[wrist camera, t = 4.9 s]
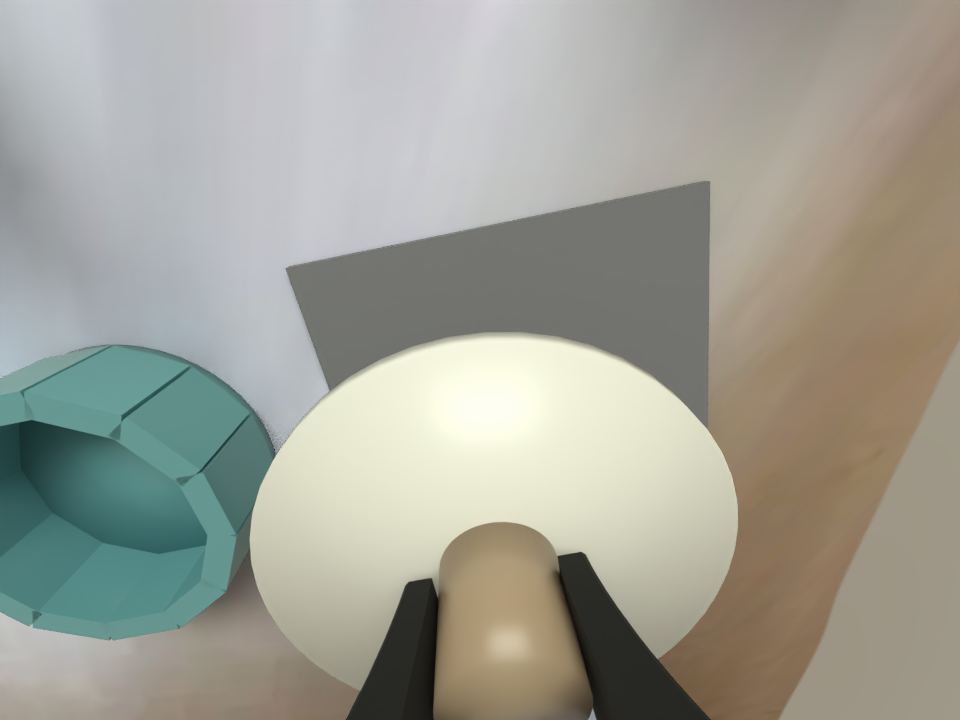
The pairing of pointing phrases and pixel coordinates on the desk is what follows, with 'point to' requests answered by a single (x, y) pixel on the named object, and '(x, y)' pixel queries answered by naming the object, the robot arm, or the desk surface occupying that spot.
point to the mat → (532, 288)
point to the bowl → (123, 490)
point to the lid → (492, 516)
